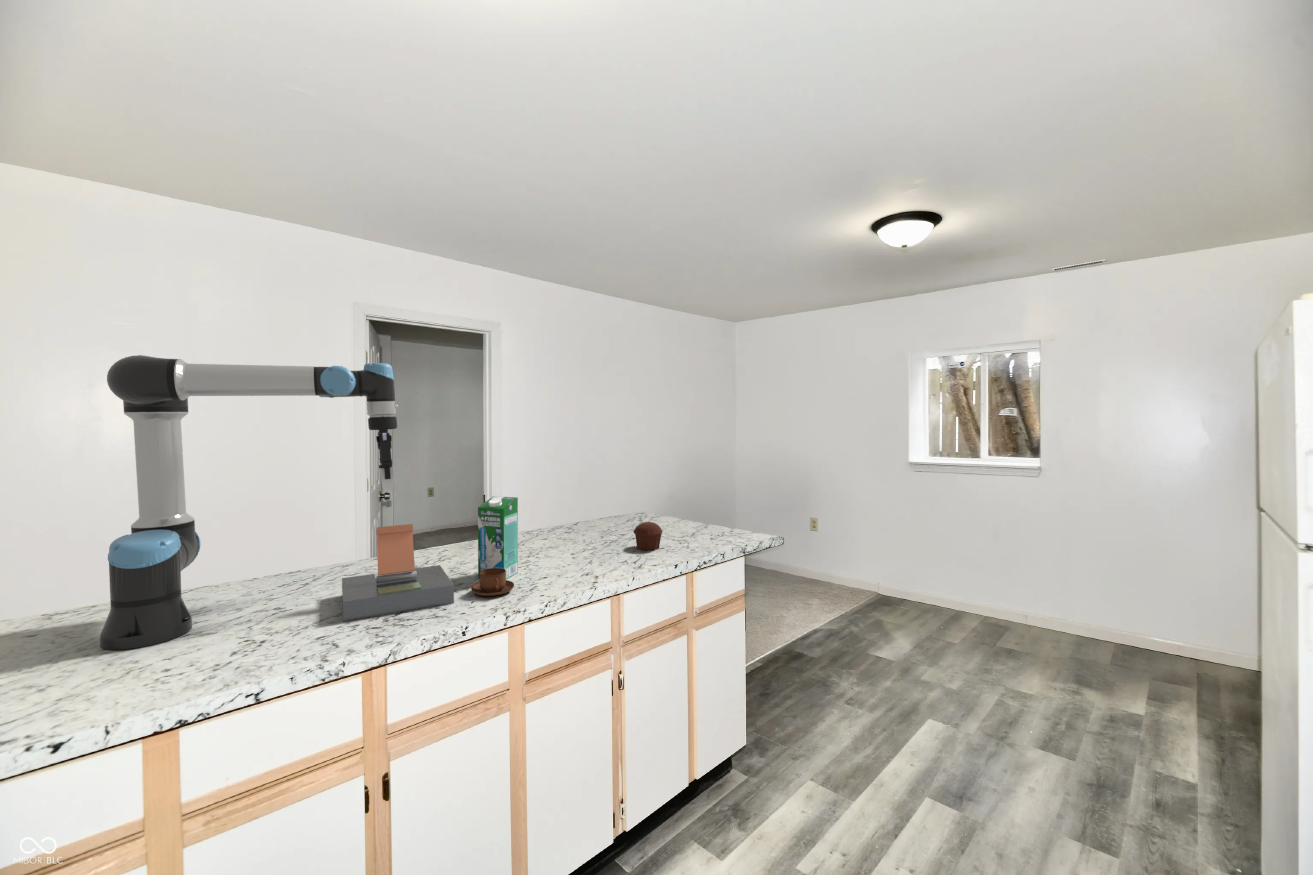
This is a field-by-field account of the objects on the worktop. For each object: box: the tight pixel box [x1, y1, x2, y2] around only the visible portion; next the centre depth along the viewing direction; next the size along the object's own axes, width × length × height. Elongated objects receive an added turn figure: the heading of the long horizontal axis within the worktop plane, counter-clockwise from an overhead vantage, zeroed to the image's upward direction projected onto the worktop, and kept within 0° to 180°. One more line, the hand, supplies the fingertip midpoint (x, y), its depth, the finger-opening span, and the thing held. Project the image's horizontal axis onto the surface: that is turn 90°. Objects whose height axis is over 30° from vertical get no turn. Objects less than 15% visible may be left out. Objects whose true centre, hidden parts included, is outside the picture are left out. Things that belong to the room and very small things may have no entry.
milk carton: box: [477, 495, 519, 580], centre depth 167 cm, size 9×9×25 cm
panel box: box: [341, 564, 455, 623], centre depth 145 cm, size 22×26×5 cm
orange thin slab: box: [375, 523, 417, 584], centre depth 147 cm, size 3×10×15 cm, turn 122°
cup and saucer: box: [470, 568, 515, 597], centre depth 152 cm, size 12×12×6 cm
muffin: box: [632, 521, 663, 552], centre depth 205 cm, size 12×11×10 cm
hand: (387, 487), depth 155 cm, fingers open, 13 cm apart
